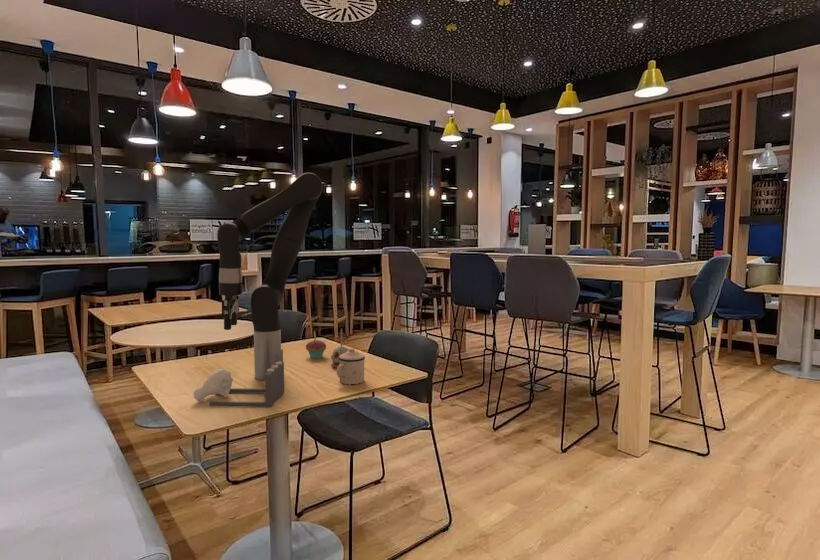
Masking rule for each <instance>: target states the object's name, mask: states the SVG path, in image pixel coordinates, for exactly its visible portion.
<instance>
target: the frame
mask: <svg viewBox="0 0 820 560" xmlns="http://www.w3.org/2000/svg"><path fill="white" fill-rule="evenodd" d="M271 368H272V369H267V373H266V374H265V380H264V388H261V387H260V388H255V387H254V388H253V387H250V388H249V387H248V388H247V387H231V389H230V392H229V394H230V393H231V394H232V393H233V394H235V393H236V394H237V393H238V394H264V395H265V396H264V399H265V400H264V401H251V400H250V401H244V400H243V401H242V400H241V401H239V400H238V401H237V400H210V401H209V402H208V404H209V405H208V406H209V407H242V406H245V408H246V407H248V408H249V407H253V408H255V407H256V408H257V407H258V408H262V407H263V408H267V409H269V408H272V407H273V405H274V404H276V402H277V401H278V400H279V399H280V397H281V396H283V394H284V393H285V362H284V361H283V362H275V365H272V366H271Z"/></svg>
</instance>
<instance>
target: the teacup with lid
mask: <svg viewBox="0 0 820 560" xmlns="http://www.w3.org/2000/svg"><path fill="white" fill-rule="evenodd" d="M348 349H349V351H347V352H346V353H344V354H341V355H340V356H339V366H338V367H336V375H337V377H338V379H339V382H340V383H341V384H342V383H343V385H347V384H348V386H352V385H351V384H355V385H360V384H362V383H364V381H365V358H366V355H365V354H364V353H361V352H358V351H357V350H356V348H354V347H350V348H348ZM359 383H360V384H359Z"/></svg>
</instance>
